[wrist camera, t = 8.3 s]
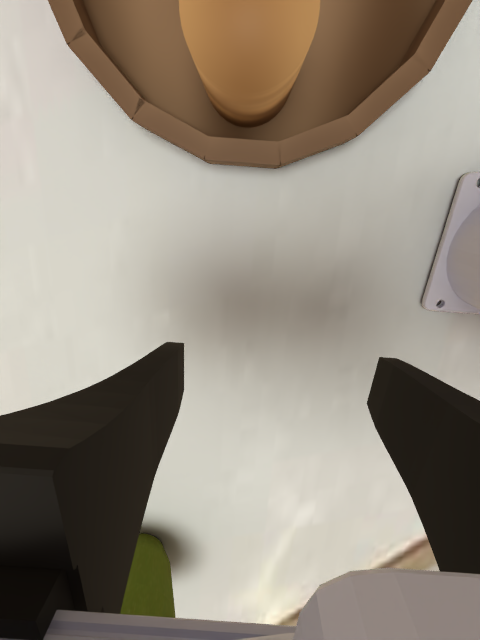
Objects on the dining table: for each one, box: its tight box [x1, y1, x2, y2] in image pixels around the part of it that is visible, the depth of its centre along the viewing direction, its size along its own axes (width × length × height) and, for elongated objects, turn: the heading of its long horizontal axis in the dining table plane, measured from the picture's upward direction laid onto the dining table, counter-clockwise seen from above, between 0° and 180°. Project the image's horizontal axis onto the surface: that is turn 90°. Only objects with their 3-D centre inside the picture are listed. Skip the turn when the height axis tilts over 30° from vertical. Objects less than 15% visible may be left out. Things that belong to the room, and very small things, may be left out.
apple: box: [120, 533, 175, 618], centre depth 25 cm, size 9×8×12 cm
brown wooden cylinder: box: [179, 0, 320, 128], centre depth 12 cm, size 4×4×6 cm
